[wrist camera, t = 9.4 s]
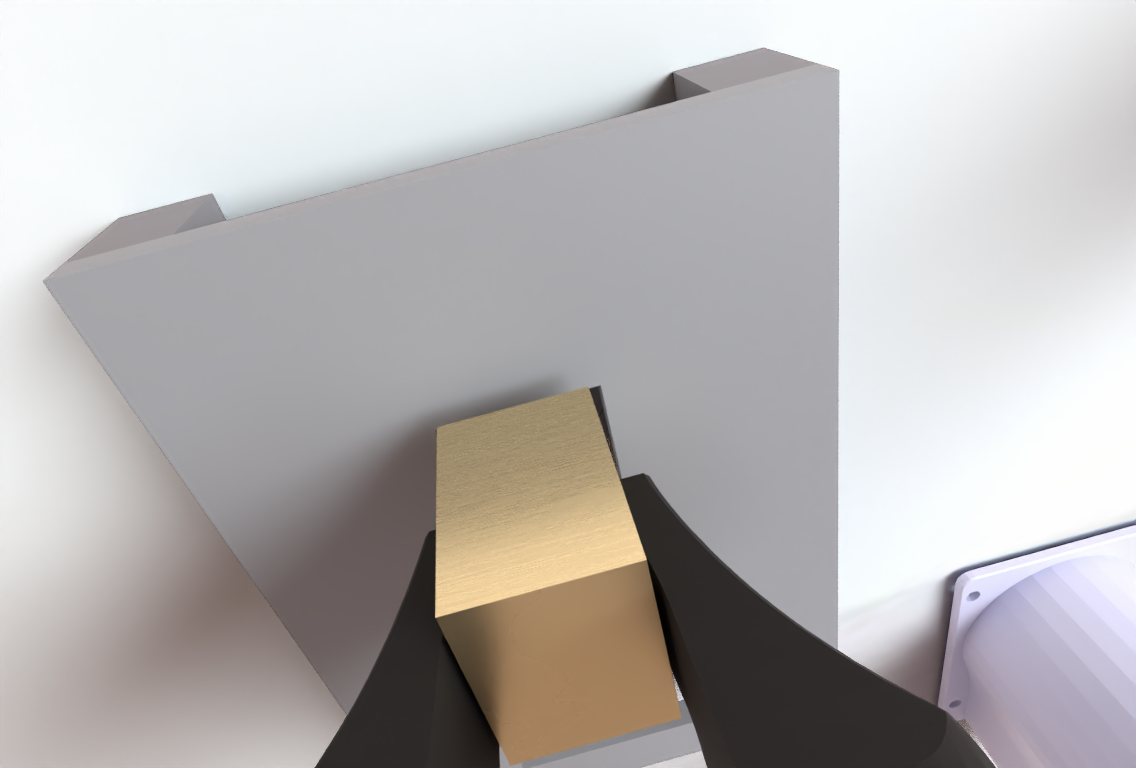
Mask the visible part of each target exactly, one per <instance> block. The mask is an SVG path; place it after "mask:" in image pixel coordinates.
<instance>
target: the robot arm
mask: <svg viewBox="0 0 1136 768" xmlns="http://www.w3.org/2000/svg"><path fill="white" fill-rule="evenodd" d="M620 482H621V485H622V488H623V491H624V494H625V497H626V500H627V503H628V506H629V509H630V512H631V515H632V518H633V521H634V523H635V526H636V529H637V532H638V535H639V538H640V541H641V544H642V547H643V550H644V553H645V556H646V559H647V563H648V568H649V572H650V577H651V581H652V586H653V590H654V595H655V599H656V604H657V608H658V613H659V617H660V622H661V626H662V631H663V635H664V640H665V645H666V649H667V654H668V658H669V663H670V667H671V669H672V672H673V674H674V676H675V679H676V681H677V684H678V686H679V689H680V691H681V693H682V696H683V698H684V701H685V703H686V706H687V708H688V711H689V714H690V716H691V719H692V722H693V725H694V727H695V730H696V733H697V736H698V739H699V743H700V746H701V749H702V752H703V755H704V759H705V762H706V765H707V768H996V767H995V766H994V764H993V763H992V762H991V760H990V759H989V758H988V757H987V755H986V754H985V753H984V752H983V751H982V749H981V748H980V747H979V746H978V745H977V744H976V742H975V741H974V740H973V739H972V738H971V736H970V735H969V734H968V733H967V732H966V731H965V730H964V729H963V728H962V727H961V725H960V724H959V723H958V722H957V721H960V720H964V719H965V720H966V721H967V723H968V724H969V726H970V727H971V729H972V730H973V732H974V733H975V735H976V736H977V737H978V739H979V740H980V742H981V743H982V745H983V746H984V748H985V749H986V751H987V752H988V754H989V755H990V757H991V758H992V759H993V761H994V762H995V764H996V765H997V767H998V768H1136V525H1133V526H1130V527H1126V528H1122V529H1119V530H1115V531H1112V532H1108V533H1104V534H1101V535H1097V536H1094V537H1090V538H1086V539H1083V540H1079V541H1075V542H1072V543H1068V544H1065V545H1061V546H1057V547H1054V548H1050V549H1046V550H1043V551H1039V552H1036V553H1032V554H1028V555H1025V556H1021V557H1018V558H1014V559H1010V560H1007V561H1003V562H999V563H996V564H992V565H989V566H985V567H981V568H978V569H974V570H970V571H968V572H965V573H963V574H962V575H960V576H959V578H958V579H957V581H956V584H955V590H954V597H953V604H952V611H951V618H950V625H949V632H948V639H947V645H946V652H945V659H944V666H943V673H942V680H941V687H940V694H939V700H938V707H937V706H935V705H933V704H931V703H929V702H927V701H925V700H923V699H921V698H920V697H918V696H916V695H914V694H912V693H910V692H908V691H906V690H905V689H903V688H901V687H899V686H897V685H895V684H893V683H892V682H890V681H888V680H886V679H884V678H883V677H881V676H879V675H878V674H876V673H874V672H873V671H871V670H869V669H867V668H866V667H864V666H862V665H861V664H859V663H857V662H855V661H854V660H852V659H851V658H849V657H848V656H846V655H845V654H843V653H842V652H840V651H838V650H837V649H835V648H834V647H832V646H831V645H829V644H828V643H826V642H825V641H823V640H822V639H820V638H819V637H817V636H816V635H814V634H813V633H811V632H809V631H808V630H806V629H805V628H804V627H802V626H801V625H800V624H798V623H797V622H795V621H794V620H793V619H791V618H790V617H789V616H787V615H786V614H785V613H783V612H782V611H781V610H779V609H778V608H777V607H775V606H774V605H773V604H772V603H770V602H769V601H768V600H767V599H765V598H764V597H763V596H762V595H760V594H759V593H758V592H757V591H756V590H754V589H753V588H752V587H751V586H750V585H748V584H747V583H746V582H745V581H744V580H743V579H742V578H740V577H739V576H738V575H737V574H736V573H735V572H734V571H733V570H732V569H731V568H729V567H728V566H727V565H726V564H725V563H724V562H723V561H722V560H721V559H720V558H719V557H718V556H717V555H716V554H715V553H714V552H713V551H712V550H711V549H710V548H709V547H708V546H707V545H706V544H705V543H704V542H703V541H702V540H701V539H700V538H699V537H698V536H697V535H696V534H695V533H694V532H693V531H692V530H691V529H690V527H689V526H688V525H687V524H686V523H685V522H684V521H683V520H682V519H681V517H680V516H679V515H678V514H677V513H676V511H675V510H674V509H673V508H672V507H671V505H670V504H669V503H668V502H667V500H666V499H665V498H664V497H663V495H662V494H661V492H660V491H659V490H658V488H657V487H656V485H655V484H654V482H653V481H652V479H651V477H650V476H648V475H646V474H644V473H641V474H638V475H634V476H630V477H627V478H623V479H620ZM435 601H436V530H432V531H429V533H428V534H427V536H426V537H425V540H424V543H423V546H422V549H421V552H420V555H419V558H418V561H417V564H416V567H415V570H414V572H413V575H412V578H411V580H410V583H409V586H408V588H407V591H406V594H405V596H404V599H403V601H402V603H401V606H400V608H399V611H398V613H397V615H396V618H395V620H394V623H393V625H392V627H391V630H390V632H389V634H388V636H387V639H386V641H385V643H384V645H383V647H382V649H381V651H380V653H379V655H378V658H377V660H376V662H375V664H374V666H373V668H372V670H371V672H370V674H369V676H368V678H367V680H366V682H365V684H364V686H363V688H362V690H361V691H360V693H359V695H358V697H357V699H356V701H355V703H354V704H353V706H352V708H351V710H350V711H349V713H348V715H347V717H346V718H345V720H344V722H343V723H342V725H341V727H340V729H339V730H338V732H337V733H336V735H335V737H334V738H333V740H332V741H331V743H330V745H329V746H328V748H327V749H326V751H325V752H324V754H323V756H322V757H321V759H320V760H319V762H318V764H317V765H316V767H315V768H500V751H499V742H498V740H497V738H496V736H495V734H494V732H493V731H492V729H491V727H490V725H489V723H488V721H487V719H486V717H485V715H484V713H483V711H482V709H481V707H480V705H479V703H478V701H477V699H476V697H475V695H474V693H473V691H472V689H471V687H470V685H469V683H468V681H467V679H466V677H465V675H464V673H463V671H462V669H461V667H460V665H459V663H458V661H457V659H456V658H455V656H454V654H453V652H452V650H451V648H450V646H449V644H448V642H447V640H446V638H445V636H444V634H443V632H442V630H441V628H440V626H439V624H438V622H437V620H436V618H435Z"/></svg>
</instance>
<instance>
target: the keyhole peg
mask: <svg viewBox="0 0 1136 768" xmlns="http://www.w3.org/2000/svg"><path fill="white" fill-rule="evenodd" d="M609 435H610V434H609V430H608V426H607V421H606V417H605V413H604V408H603V404H602V400H601V395H600V391H599V387H598V386H596V387H593V388H589V387H584V388H581V389H577V390H573V391H569V392H566V393H562V394H558V395H555V396H551V397H547V398H544V399H540V400H536V401H532V402H529V403H525V404H521V405H518V406H514V407H510V408H506V409H503V410H499V411H495V412H492V413H488V414H484V415H481V416H477V417H473V418H469V419H466V420H462V421H458V422H455V423H451V424H447V425H444V426H440V427H437V478H436V601H435V618H436V620H437V622H438V624H439V626H440V628H441V630H442V632H443V634H444V636H445V638H446V640H447V642H448V644H449V646H450V648H451V650H452V652H453V654H454V656H455V658H456V659H457V661H458V663H459V665H460V667H461V669H462V671H463V673H464V675H465V677H466V679H467V681H468V683H469V685H470V687H471V689H472V691H473V693H474V695H475V697H476V699H477V701H478V703H479V705H480V707H481V709H482V711H483V713H484V715H485V717H486V719H487V721H488V723H489V725H490V727H491V729H492V731H493V732H494V734H495V736H496V738H497V740H498V742H499V744H500V746H501V748H502V750H503V752H504V754H505V756H506V758H507V760H508V762H509V764H510V766H511V765H515V764H519V763H522V762H526V761H529V760H533V759H537V758H540V757H544V756H547V755H551V754H555V753H558V752H562V751H565V750H569V749H573V748H576V747H580V746H583V745H587V744H591V743H594V742H598V741H602V740H605V739H609V738H612V737H616V736H620V735H623V734H627V733H630V732H634V731H638V730H641V729H645V728H648V727H652V726H656V725H659V724H663V723H666V722H670V721H674V720H677V719H681V718H682V717H681V712H680V708H679V703H678V699H677V694H676V690H675V685H674V681H673V676H672V672H671V667H670V663H669V658H668V654H667V649H666V645H665V640H664V635H663V631H662V626H661V622H660V617H659V613H658V608H657V604H656V599H655V595H654V590H653V586H652V581H651V577H650V572H649V568H648V563H647V559H646V556H645V553H644V550H643V547H642V544H641V541H640V538H639V535H638V532H637V529H636V526H635V523H634V521H633V518H632V515H631V512H630V509H629V506H628V503H627V500H626V497H625V494H624V491H623V488H622V485H621V482H620V479H619V476H618V473H617V470H616V467H615V464H614V461H613V458H612V455H611V452H610V449H609V446H608V443H607V440H606V439H607V438H608V436H609Z"/></svg>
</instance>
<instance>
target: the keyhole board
mask: <svg viewBox="0 0 1136 768" xmlns="http://www.w3.org/2000/svg"><path fill="white" fill-rule="evenodd" d="M673 77H674V85H675V93H676V101H675V102H672V103H668V104H664V105H660V106H656V107H653V108H649V109H645V110H641V111H638V112H634V113H630V114H626V115H623V116H619V117H615V118H611V119H607V120H604V121H600V122H596V123H592V124H589V125H585V126H581V127H577V128H573V129H570V130H566V131H562V132H558V133H555V134H551V135H547V136H543V137H539V138H536V139H532V140H528V141H524V142H521V143H517V144H513V145H509V146H505V147H502V148H498V149H494V150H490V151H487V152H483V153H479V154H475V155H471V156H468V157H464V158H460V159H456V160H453V161H449V162H445V163H441V164H438V165H434V166H430V167H426V168H422V169H419V170H415V171H411V172H407V173H404V174H400V175H396V176H392V177H388V178H385V179H381V180H377V181H373V182H370V183H366V184H362V185H358V186H354V187H351V188H347V189H343V190H339V191H336V192H332V193H328V194H324V195H320V196H317V197H313V198H309V199H305V200H302V201H298V202H294V203H290V204H286V205H283V206H279V207H275V208H271V209H268V210H264V211H260V212H256V213H253V214H249V215H245V216H241V217H237V218H234V219H230V220H226V219H225V217H224V215H223V214H222V212H221V210H220V208H219V206H218V204H217V202H216V200H215V198H214V196H213V194H209V195H205V196H201V197H197V198H193V199H190V200H186V201H182V202H178V203H174V204H171V205H167V206H163V207H159V208H156V209H152V210H148V211H144V212H140V213H137V214H133V215H129V216H125V217H121V218H119V219H117V220H116V221H115V222H114V223H113V224H111V225H110V226H109V227H108V228H106V229H105V230H104V231H103V232H102V233H100V234H99V235H98V236H97V237H96V238H94V239H93V240H92V241H91V242H90V243H88V244H87V245H86V246H85V247H83V248H82V249H81V250H80V251H79V252H77V253H76V254H75V255H74V256H73V257H71V258H70V259H69V260H68V261H67V262H65V263H64V264H63V265H62V266H60V267H59V268H58V269H57V270H56V271H54V272H53V273H52V274H51V275H50V276H48V277H47V278H46V279H45V280H43V283H44V284H45V285H46V287H47V288H48V290H49V291H50V293H51V294H52V295H53V297H54V298H55V300H56V301H57V303H58V304H59V305H60V307H61V308H62V310H63V311H64V313H65V314H66V315H67V317H68V318H69V320H70V321H71V322H72V324H73V325H74V327H75V328H76V330H77V331H78V332H79V334H80V335H81V337H82V338H83V340H84V341H85V342H86V344H87V345H88V347H89V348H90V350H91V351H92V352H93V354H94V355H95V357H96V358H97V360H98V361H99V362H100V364H101V365H102V367H103V368H104V369H105V371H106V372H107V374H108V375H109V377H110V378H111V379H112V381H113V382H114V384H115V385H116V387H117V388H118V389H119V391H120V392H121V394H122V395H123V397H124V398H125V399H126V401H127V402H128V404H129V405H130V407H131V408H132V409H133V411H134V412H135V414H136V415H137V416H138V418H139V419H140V421H141V422H142V424H143V425H144V426H145V428H146V429H147V431H148V432H149V434H150V435H151V436H152V438H153V439H154V441H155V442H156V444H157V445H158V446H159V448H160V449H161V451H162V452H163V454H164V455H165V456H166V458H167V459H168V461H169V462H170V463H171V465H172V466H173V468H174V469H175V471H176V472H177V473H178V475H179V476H180V478H181V479H182V481H183V482H184V483H185V485H186V486H187V488H188V489H189V491H190V492H191V493H192V495H193V496H194V498H195V499H196V501H197V502H198V503H199V505H200V506H201V508H202V509H203V510H204V512H205V513H206V515H207V516H208V518H209V519H210V520H211V522H212V523H213V525H214V526H215V528H216V529H217V530H218V532H219V533H220V535H221V536H222V538H223V539H224V540H225V542H226V543H227V545H228V546H229V548H230V549H231V550H232V552H233V553H234V555H235V556H236V557H237V559H238V560H239V562H240V563H241V565H242V566H243V567H244V569H245V570H246V572H247V573H248V575H249V576H250V577H251V579H252V580H253V582H254V583H255V585H256V586H257V587H258V589H259V590H260V592H261V593H262V595H263V596H264V597H265V599H266V600H267V602H268V603H269V604H270V606H271V607H272V609H273V610H274V612H275V613H276V614H277V616H278V617H279V619H280V620H281V622H282V623H283V624H284V626H285V627H286V629H287V630H288V632H289V633H290V634H291V636H292V637H293V639H294V640H295V642H296V643H297V644H298V646H299V647H300V649H301V650H302V651H303V653H304V654H305V656H306V657H307V659H308V660H309V661H310V663H311V664H312V666H313V667H314V669H315V670H316V671H317V673H318V674H319V676H320V677H321V679H322V680H323V681H324V683H325V684H326V686H327V687H328V689H329V690H330V691H331V693H332V694H333V696H334V697H335V698H336V700H337V701H338V703H339V704H340V706H341V707H342V708H343V710H344V711H345V713H346V714H347V715H348V713H349V711H350V710H351V708H352V706H353V704H354V703H355V701H356V699H357V697H358V695H359V693H360V691H361V690H362V688H363V686H364V684H365V682H366V680H367V678H368V676H369V674H370V672H371V670H372V668H373V666H374V664H375V662H376V660H377V658H378V655H379V653H380V651H381V649H382V647H383V645H384V643H385V641H386V639H387V636H388V634H389V632H390V630H391V627H392V625H393V623H394V620H395V618H396V615H397V613H398V611H399V608H400V606H401V603H402V601H403V599H404V596H405V594H406V591H407V588H408V586H409V583H410V580H411V578H412V575H413V572H414V570H415V567H416V564H417V561H418V558H419V555H420V552H421V549H422V546H423V543H424V540H425V537H426V536H427V534H428V533H429V531H432V530H436V478H437V427H440V426H444V425H447V424H451V423H455V422H458V421H462V420H466V419H469V418H473V417H477V416H481V415H484V414H488V413H492V412H495V411H499V410H503V409H506V408H510V407H514V406H518V405H521V404H525V403H529V402H532V401H536V400H540V399H544V398H547V397H551V396H555V395H558V394H562V393H566V392H569V391H573V390H577V389H581V388H584V387H589V388H593V387H596V386H598V387H599V391H600V395H601V400H602V404H603V408H604V413H605V417H606V421H607V426H608V430H609V434H610V439H611V443H612V447H613V452H614V456H615V460H616V465H617V469H618V473H619V478H620V479H623V478H627V477H630V476H634V475H638V474H641V473H644V474H646V475H648V476H650V477H651V479H652V481H653V482H654V484H655V485H656V487H657V488H658V490H659V491H660V492H661V494H662V495H663V497H664V498H665V499H666V500H667V502H668V503H669V504H670V505H671V507H672V508H673V509H674V510H675V511H676V513H677V514H678V515H679V516H680V517H681V519H682V520H683V521H684V522H685V523H686V524H687V525H688V526H689V527H690V529H691V530H692V531H693V532H694V533H695V534H696V535H697V536H698V537H699V538H700V539H701V540H702V541H703V542H704V543H705V544H706V545H707V546H708V547H709V548H710V549H711V550H712V551H713V552H714V553H715V554H716V555H717V556H718V557H719V558H720V559H721V560H722V561H723V562H724V563H725V564H726V565H727V566H728V567H729V568H731V569H732V570H733V571H734V572H735V573H736V574H737V575H738V576H739V577H740V578H742V579H743V580H744V581H745V582H746V583H747V584H748V585H750V586H751V587H752V588H753V589H754V590H756V591H757V592H758V593H759V594H760V595H762V596H763V597H764V598H765V599H767V600H768V601H769V602H770V603H772V604H773V605H774V606H775V607H777V608H778V609H779V610H781V611H782V612H783V613H785V614H786V615H787V616H789V617H790V618H791V619H793V620H794V621H795V622H797V623H798V624H800V625H801V626H802V627H804V628H805V629H806V630H808V631H809V632H811V633H813V634H814V635H816V636H817V637H819V638H820V639H822V640H823V641H825V642H826V643H828V644H829V645H831V646H832V647H834V648H835V649H837V650H838V323H839V70H837V69H834V68H831V67H827V66H824V65H820V64H817V63H814V62H810V61H807V60H804V59H800V58H797V57H794V56H790V55H787V54H783V53H780V52H777V51H773V50H770V49H767V48H761V49H757V50H753V51H750V52H746V53H742V54H738V55H735V56H731V57H727V58H723V59H719V60H716V61H712V62H708V63H704V64H701V65H697V66H693V67H689V68H685V69H682V70H678V71H674V72H673ZM678 703H679V708H680V712H681V717H682V718H681V719H677V720H674V721H670V722H666V723H663V724H659V725H656V726H652V727H648V728H645V729H641V730H638V731H634V732H630V733H627V734H623V735H620V736H616V737H612V738H609V739H605V740H602V741H598V742H594V743H591V744H587V745H583V746H580V747H576V748H573V749H569V750H565V751H562V752H558V753H555V754H551V755H547V756H544V757H540V758H537V759H533V760H529V761H526V762H522V763H519V764H515V765H511V766H510V764H509V762H508V760H507V758H506V756H505V754H504V752H503V750H502V748H501V746H500V744H499V751H500V768H641V767H645V766H648V765H652V764H655V763H659V762H663V761H666V760H670V759H673V758H677V757H681V756H684V755H688V754H691V753H695V752H698V751H702V749H701V746H700V743H699V739H698V736H697V733H696V730H695V727H694V725H693V722H692V719H691V716H690V714H689V711H688V708H687V706H686V703H685V701H684V700H681V701H678Z"/></svg>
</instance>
